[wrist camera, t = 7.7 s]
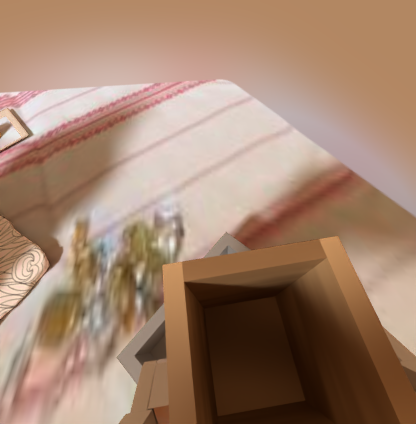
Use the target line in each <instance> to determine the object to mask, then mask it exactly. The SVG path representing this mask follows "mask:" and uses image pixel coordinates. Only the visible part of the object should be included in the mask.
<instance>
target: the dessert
mask: <svg viewBox="0 0 416 424" xmlns="http://www.w3.org/2000/svg"><path fill="white" fill-rule="evenodd" d="M5 116H6V117H7V118H8V120H9V121H10V122H11V124H12V125H13V126H14V128H15V129H16V130H17V132H18V133H19V134H20V136H21V138H19V139H18V140H16V141H14V142H12V143H10V144H8V145H6V146H5V147H3V148H1V149H0V151H2V150H4V149H6V148H8V147H9V146H11V145H13V144H15V143H17V142H19V141H21V140H22V139H24V138H26V137H27V136H28V135H29V134H28V133H27V132H26V130H25V129H24V128H23V126H22V125H21V124H20V123H19V121H18V120H17V119H16V118H15V116H14V115H13V114H12V113H11V111H10V110H9V109H8V108H6V109H4V110H2V111H0V119H1V118H3V117H5ZM0 138H1V133H0Z"/></svg>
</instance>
